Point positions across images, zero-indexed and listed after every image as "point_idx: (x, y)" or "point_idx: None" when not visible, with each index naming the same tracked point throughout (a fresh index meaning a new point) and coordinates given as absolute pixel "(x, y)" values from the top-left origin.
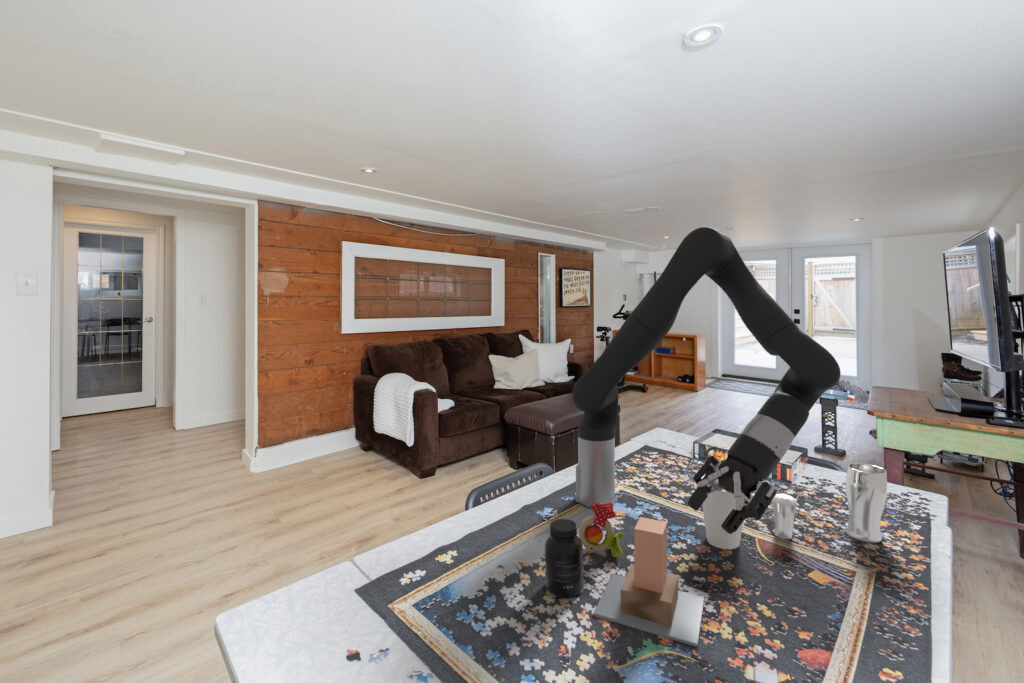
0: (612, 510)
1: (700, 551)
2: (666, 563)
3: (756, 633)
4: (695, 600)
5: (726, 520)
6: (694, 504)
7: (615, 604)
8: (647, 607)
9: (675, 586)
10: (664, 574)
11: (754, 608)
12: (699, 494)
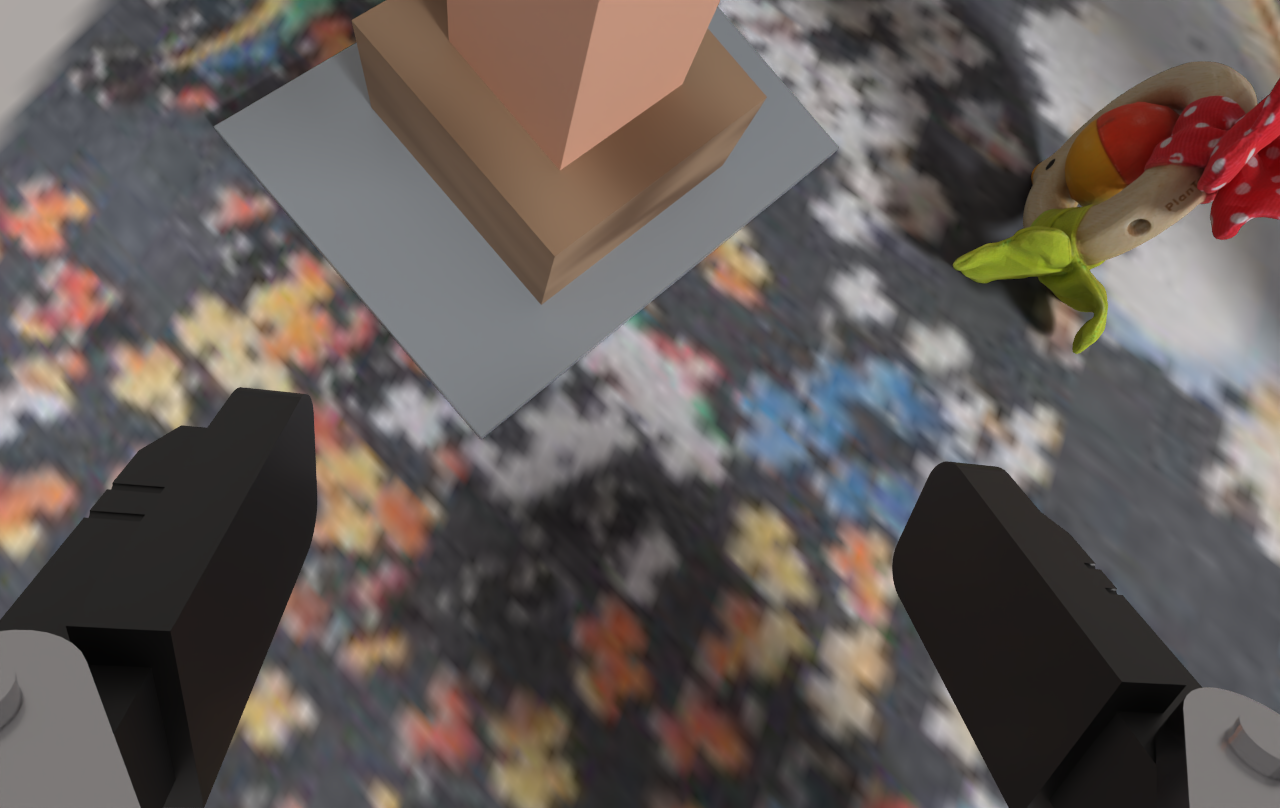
0: (1268, 203)
1: (869, 795)
2: (561, 93)
3: None
4: (478, 369)
5: (236, 442)
6: (945, 534)
7: None
8: None
9: (471, 157)
10: (502, 48)
11: (285, 656)
12: (1045, 633)
